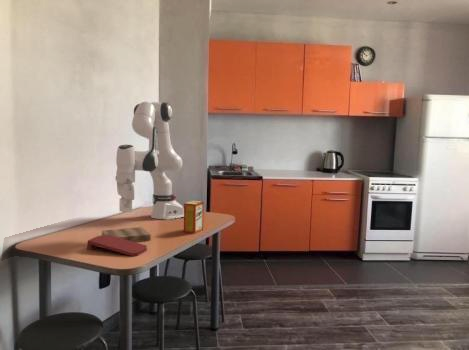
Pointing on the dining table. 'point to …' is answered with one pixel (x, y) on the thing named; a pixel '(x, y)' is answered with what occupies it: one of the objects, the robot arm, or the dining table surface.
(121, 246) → the carton
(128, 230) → the plinth
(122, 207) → the cream block
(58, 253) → the dining table surface
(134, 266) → the dining table surface
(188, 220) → the baking soda box
